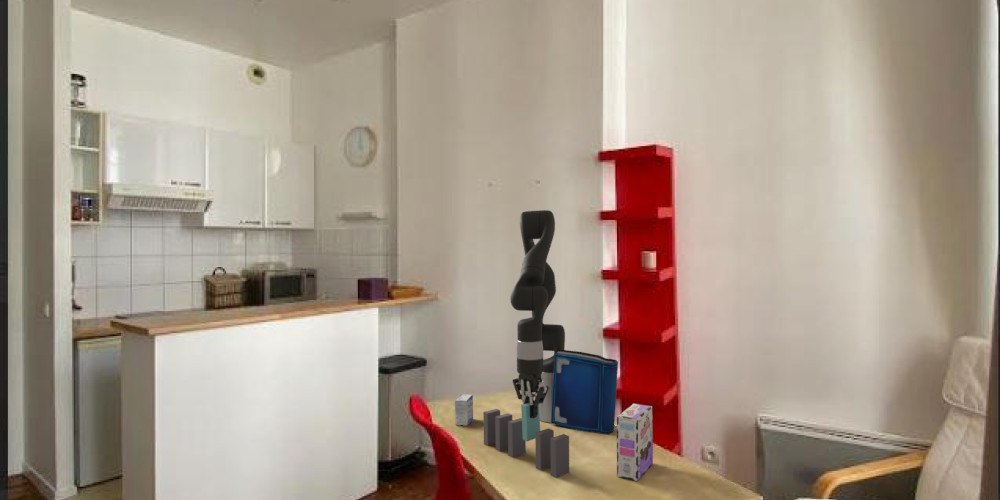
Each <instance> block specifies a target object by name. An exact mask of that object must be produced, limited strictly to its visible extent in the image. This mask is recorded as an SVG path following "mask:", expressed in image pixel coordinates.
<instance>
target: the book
mask: <svg viewBox="0 0 1000 500" xmlns="http://www.w3.org/2000/svg"><path fill="white" fill-rule="evenodd" d="M618 368H619V361H618V360H616V359H613V358H606V357H604V356H601V355H598V354H593V353H587V352H584V351H576V350H567V349H564V350H562V352H561V351H558V352H557V353H555V356H554V375H553V394H552V413H551V424H553V425H557V426H559V427H563V428H566V427H567V429H571V428H572V429H571V430H576V429H577V431H582V430H583V431H582V432H587V431H588V433H599V434H601V433H602V435H610V434H612V433H614V431H615V430H614V429H615V419H616V401H617V385H618Z"/></svg>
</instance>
